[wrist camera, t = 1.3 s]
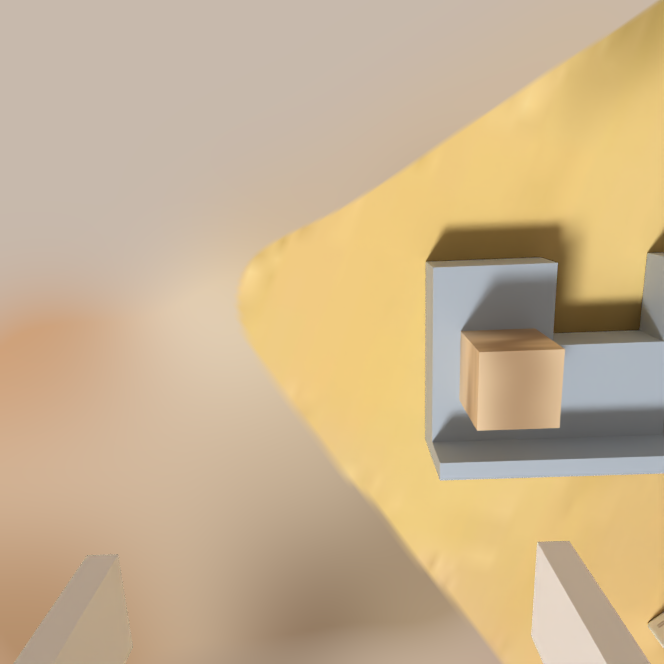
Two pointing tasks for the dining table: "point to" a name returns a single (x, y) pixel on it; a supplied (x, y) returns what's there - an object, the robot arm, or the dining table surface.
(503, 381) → the oak block
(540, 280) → the tray
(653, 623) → the supplement box
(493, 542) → the dining table surface
